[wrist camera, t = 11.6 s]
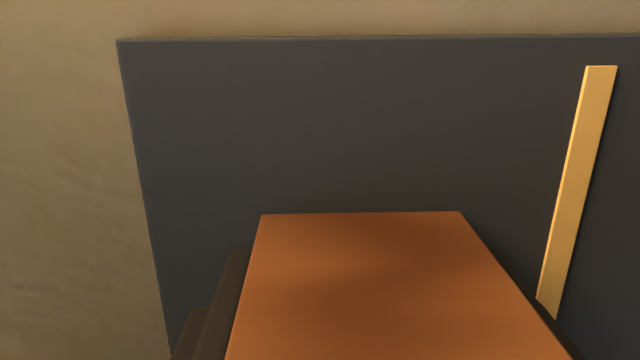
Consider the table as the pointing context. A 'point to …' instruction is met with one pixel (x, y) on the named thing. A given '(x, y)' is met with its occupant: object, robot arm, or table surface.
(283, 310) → the brown wooden block
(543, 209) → the mat
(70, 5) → the table surface
